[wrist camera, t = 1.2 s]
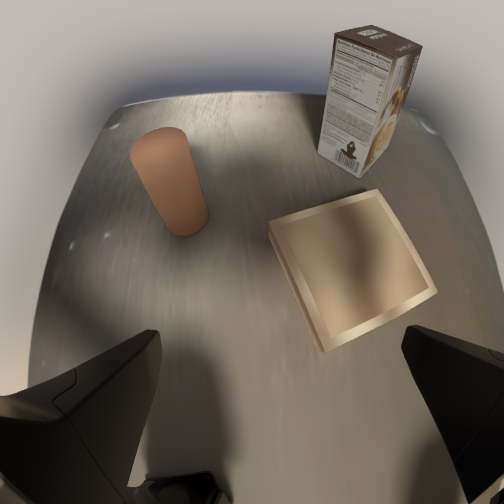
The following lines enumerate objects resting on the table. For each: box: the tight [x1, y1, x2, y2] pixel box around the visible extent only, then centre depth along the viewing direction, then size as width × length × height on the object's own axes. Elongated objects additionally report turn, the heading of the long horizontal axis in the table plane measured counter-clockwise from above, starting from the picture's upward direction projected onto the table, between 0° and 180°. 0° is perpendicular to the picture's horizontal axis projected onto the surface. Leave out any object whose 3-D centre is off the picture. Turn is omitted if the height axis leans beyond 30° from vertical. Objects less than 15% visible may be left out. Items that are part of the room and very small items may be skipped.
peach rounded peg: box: [130, 127, 208, 237], centre depth 23 cm, size 5×5×10 cm
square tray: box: [268, 189, 438, 355], centre depth 23 cm, size 12×12×3 cm
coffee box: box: [317, 25, 422, 178], centre depth 25 cm, size 9×6×16 cm
